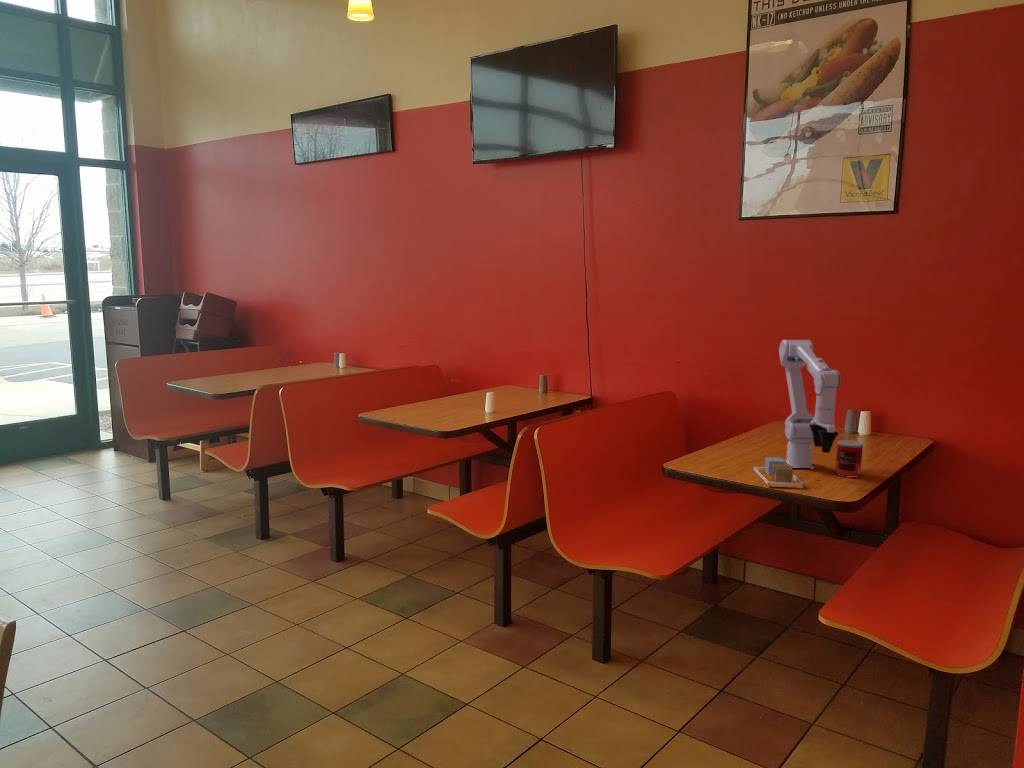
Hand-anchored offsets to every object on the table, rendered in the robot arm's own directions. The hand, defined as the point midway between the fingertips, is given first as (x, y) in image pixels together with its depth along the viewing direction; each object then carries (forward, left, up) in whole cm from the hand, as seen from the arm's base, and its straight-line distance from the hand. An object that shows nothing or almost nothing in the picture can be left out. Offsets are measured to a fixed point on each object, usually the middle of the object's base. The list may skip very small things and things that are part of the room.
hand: (821, 449), depth 250 cm
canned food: (-6, +11, -10) cm, 16 cm away
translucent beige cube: (+6, -14, -10) cm, 18 cm away
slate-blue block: (-3, -14, -10) cm, 17 cm away
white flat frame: (+2, -14, -10) cm, 17 cm away
